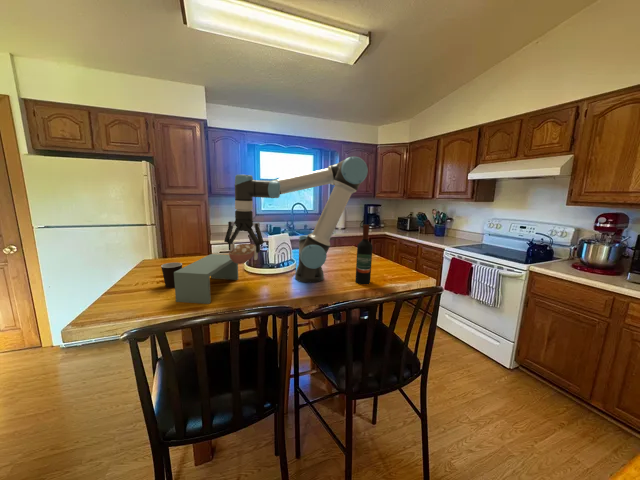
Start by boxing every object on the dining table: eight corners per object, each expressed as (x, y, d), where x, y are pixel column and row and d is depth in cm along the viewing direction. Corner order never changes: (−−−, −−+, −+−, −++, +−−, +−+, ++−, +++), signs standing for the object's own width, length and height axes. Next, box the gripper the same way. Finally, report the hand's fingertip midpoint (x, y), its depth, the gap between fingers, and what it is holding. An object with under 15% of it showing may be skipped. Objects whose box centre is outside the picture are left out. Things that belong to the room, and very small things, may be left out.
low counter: (238, 278, 139) (237, 255, 137) (209, 303, 109) (207, 274, 107) (212, 277, 140) (211, 253, 138) (175, 301, 110) (173, 272, 108)
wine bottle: (371, 281, 141) (375, 224, 136) (368, 285, 135) (371, 226, 129) (357, 279, 144) (361, 223, 139) (353, 283, 138) (356, 224, 132)
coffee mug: (174, 289, 123) (173, 268, 121) (158, 287, 124) (156, 266, 123) (191, 281, 134) (190, 261, 132) (176, 279, 136) (174, 260, 134)
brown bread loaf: (238, 253, 135) (238, 243, 134) (258, 253, 136) (259, 244, 135) (226, 266, 113) (226, 254, 112) (250, 266, 114) (250, 255, 113)
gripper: (271, 211, 122) (270, 258, 127) (223, 208, 125) (224, 254, 129) (266, 212, 115) (265, 262, 119) (215, 209, 118) (216, 258, 122)
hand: (244, 258), depth 124 cm, fingers closed on brown bread loaf, 10 cm apart
